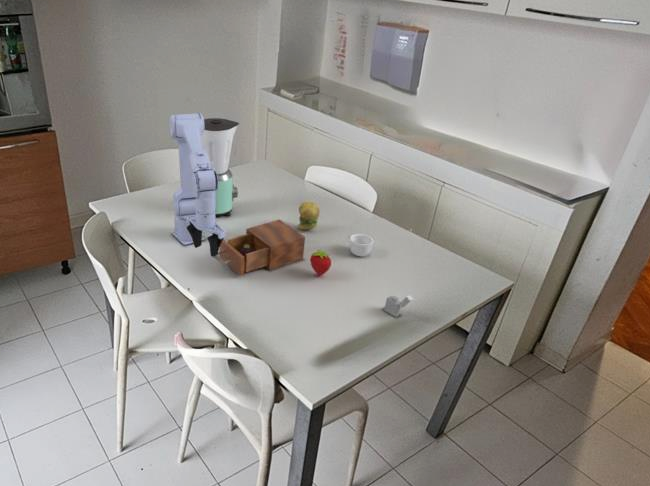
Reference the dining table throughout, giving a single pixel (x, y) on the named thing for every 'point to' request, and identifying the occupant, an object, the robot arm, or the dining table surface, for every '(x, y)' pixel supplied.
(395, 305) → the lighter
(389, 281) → the dining table surface
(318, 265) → the strawberry
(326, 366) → the dining table surface
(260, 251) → the drawer
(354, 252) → the teacup
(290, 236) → the cabinet
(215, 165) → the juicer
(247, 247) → the mangosteen
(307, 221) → the hamburger
